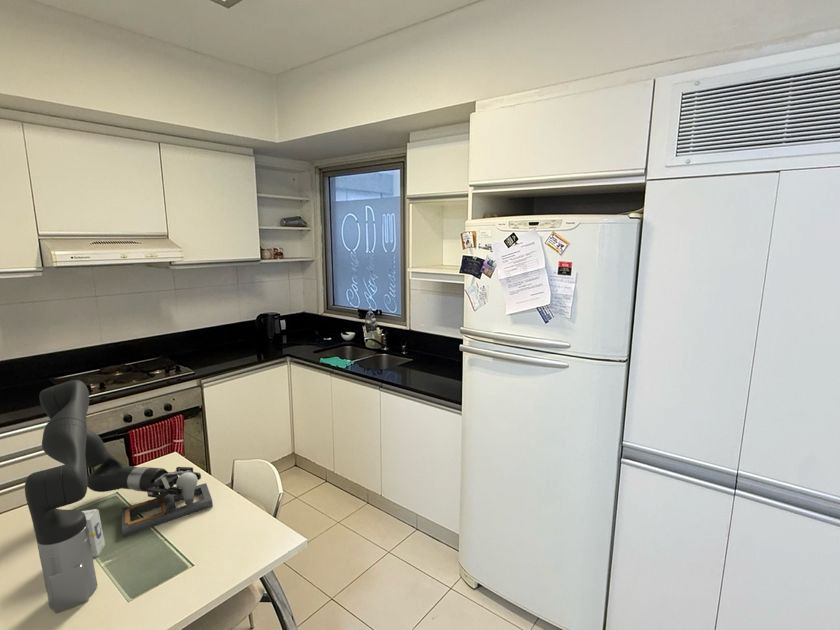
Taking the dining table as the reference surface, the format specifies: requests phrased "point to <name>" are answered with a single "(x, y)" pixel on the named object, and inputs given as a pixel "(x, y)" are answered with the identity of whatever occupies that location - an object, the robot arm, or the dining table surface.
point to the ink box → (94, 531)
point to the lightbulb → (187, 486)
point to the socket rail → (163, 510)
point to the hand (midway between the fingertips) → (191, 483)
